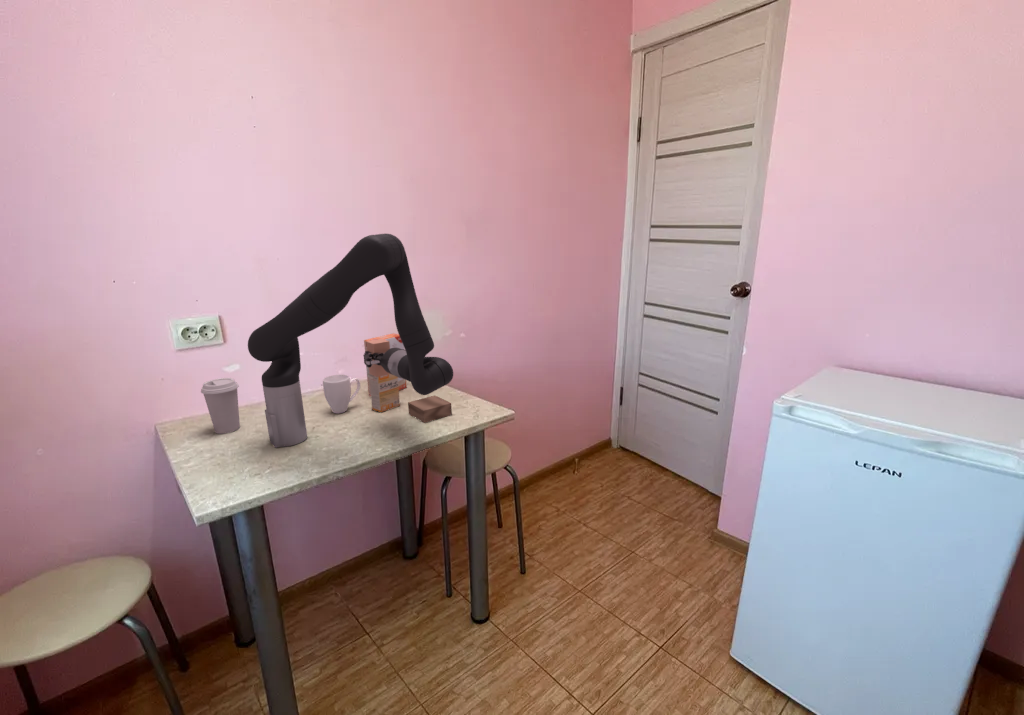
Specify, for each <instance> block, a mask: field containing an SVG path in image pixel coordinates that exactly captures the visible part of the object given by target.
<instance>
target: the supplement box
mask: <svg viewBox="0 0 1024 715" xmlns="http://www.w3.org/2000/svg"><path fill="white" fill-rule="evenodd" d="M369 378H370V389H371V396H370V398H371V409H372V411H374V410H375V412H377V411H378V413H380V412H381V413H383V412H386V411H388V409H389V410H391V409H394V408H397V407H399V406H401V404H400V403H401V402H400V390H399V387H398V377H397V376H394V375H392V374H389V375H384V376H379V377H375V376H373V375H371V374H369Z"/></svg>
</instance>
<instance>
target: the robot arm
mask: <svg viewBox="0 0 1024 715" xmlns="http://www.w3.org/2000/svg"><path fill="white" fill-rule="evenodd" d="M405 249H406V248H405V246H404V243H403V242H402V240H400V238H398V237H397V236H395V235H394V234H391V233H379V234H377V233H376V234H370V235H367V236H364V237H362V238H361V239H360V240H358V241H357V242H356V244H355V245H353V247H352V248H351V249H350V250H349V251H348V253H347V254H346V255H345V256H344V257H343V258H342V259H341V260H340V261H339V262H338V263H337V264H336V265H335V266H334V267H333V268H331V269H330V270H328V271H327V272H326V273H324V274H323V275H322V276H320V278H318V279H317V280H316V281H314V282H313V283H312V284H311V285H309V286H308V287H307V288H305V290H304V291H302V292H301V293H300V294H299V295H298V296H297V297H296V298H295V299H293V300H292V302H290V303H289V304H288V305H287V306H286V307H285V308H284V309H283V310H281V312H279V313H278V314H277V315H276V316H274V317H273V318H272V319H270V320H268V321H267V322H265V323H263V325H260V326H259V327H258V328H255V329H254V330H253V331H252V332H251V334H250V335H249V337H248V341H247V350H248V353H249V355H250V356H251V357H252V358H254V359H255V360H256V361H259V362H265V363H267V362H269V363H270V362H271V363H270V366H269V367H268V368H267V369H266V370H265V371H264V372H263V373H262V375H261V385H262V389H263V390H262V391H263V395H264V397H263V398H264V402H265V409H264V414H265V420H266V421H265V422H266V426H267V434H268V439H269V442H270V443H271V445H272V446H273V447H274V448H281V447H291V446H295V445H298V444H301V443H302V442H304V441H305V440H306V439H308V430H307V425H306V418H305V417H306V416H305V410H304V404H303V403H304V402H303V396H302V395H303V394H302V389H301V388H302V387H301V382H300V372H301V370H302V369H301V366H302V365H301V363H302V362H301V353H300V342H299V337H301V336H304V335H305V334H307V333H310V332H312V331H313V330H315V329H318V328H319V327H321V326H323V325H325V324H326V323H328V322H330V321H331V320H332V319H333V318H335V317H336V316H337V315H338V314H340V313H341V312H342V311H343V310H344V309H345V307H347V306H348V304H349V302H350V300H351V299H352V296H353V295H354V294H355V293H356V292H357V291H358V290H359V289H360V288H362V287H363V286H365V285H366V284H367V283H369V282H370V281H373V280H374V279H376V278H378V277H381V276H384V277H385V279H386V281H387V283H388V286H389V289H390V291H391V295H392V301H393V312H394V313H393V314H394V322H395V326H396V330H397V334H399V336H400V338H401V341H402V343H403V345H404V349H400V348H391V349H389V350H387V351H386V352H383V353H381V352H375V353H372V352H369V351H365V350H364V352H363V363H364V365H365V366H367V367H372V364H377V365H380V366H382V367H383V368H384V370H385V371H386V372H388V373H390V374H392V375H394V376H397V377H399V378H402V379H405V380H406V382H407V381H408V382H409V383H410V384H411V386H412V388H413V390H414V391H415V392H416V393H417V394H419V395H421V396H428V395H430V394H432V393H434V392H435V391H437V390H439V389H441V388H443V387H445V386H447V385H449V384H450V383H451V381H452V380H453V378H454V370H453V367H452V365H451V364H450V363H449V361H447V360H446V359H445V358H443V357H440V356H439V357H438V356H427V355H428V354H429V353H430V352H432V351H433V350H434V348H435V343H434V341H433V337H432V335H431V333H430V330H429V328H428V325H427V323H426V319H425V317H424V315H423V312H422V309H421V307H420V303H419V300H418V296H417V293H416V289H415V286H414V282H413V278H412V272H411V268H410V264H409V260H408V257H407V253H406V250H405ZM373 356H374V359H373Z"/></svg>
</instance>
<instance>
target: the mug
mask: <svg viewBox="0 0 1024 715" xmlns="http://www.w3.org/2000/svg"><path fill="white" fill-rule="evenodd" d="M354 381H356V385H357V386H356V389H355V391H354V392H353V393H352V383H353V382H354ZM322 387H323V395H324V398H325V400H326V402H327V404H328V406H329V407H330V409H331V411H332V413H334V414H343V413H346V412H347V410H348V408H349V403H351V402H352V400H353V399H354V398H355V397H356V395H358V393H359V391H360V389H361V381H360V380H359V378H356V377H353V378H350V376H349V375H347V374H334V375H329V376H326V377H324V378H323V379H322ZM351 394H352V395H351ZM345 411H346V412H345Z"/></svg>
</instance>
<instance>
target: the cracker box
mask: <svg viewBox="0 0 1024 715" xmlns="http://www.w3.org/2000/svg"><path fill="white" fill-rule="evenodd" d="M377 339H384V340H387V341H389V343H390V349H391V348H400V349H404V350H405V348H404V345H403V343H402V341H401V338H400V336H399V333H394V332H393V333H390V334H386V335H380V336H375V337H372V338H367V339H364V340H363V343H364V344H363V345H364V352H365V351H367V344H366V341H371V340H377ZM365 366H366V365H365ZM365 370H366V378H367V379H366V380H367V389H368V390H367V391H368V396H369V397H371V389H370V378H369V367H367V366H366V369H365ZM407 385H408V384H407V380H405V379H402V378H399V377H398V387H399V391H401V389H402V390H404V388H405V389H406V388H408V387H407Z"/></svg>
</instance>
